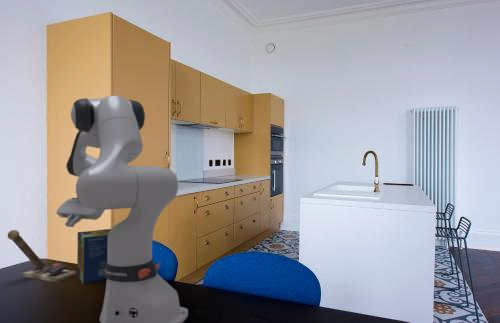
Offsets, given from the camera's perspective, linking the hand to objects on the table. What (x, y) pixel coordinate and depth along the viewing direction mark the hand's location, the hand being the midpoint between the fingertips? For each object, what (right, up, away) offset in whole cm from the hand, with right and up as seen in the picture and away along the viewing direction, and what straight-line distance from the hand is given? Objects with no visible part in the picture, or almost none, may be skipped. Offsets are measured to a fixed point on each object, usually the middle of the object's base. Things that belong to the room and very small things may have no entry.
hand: (68, 226), depth 130 cm
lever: (-4, -13, -10) cm, 17 cm away
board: (-1, -15, -11) cm, 19 cm away
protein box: (+18, -16, -11) cm, 26 cm away
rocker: (+3, -13, -13) cm, 19 cm away
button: (+1, -14, -10) cm, 17 cm away
